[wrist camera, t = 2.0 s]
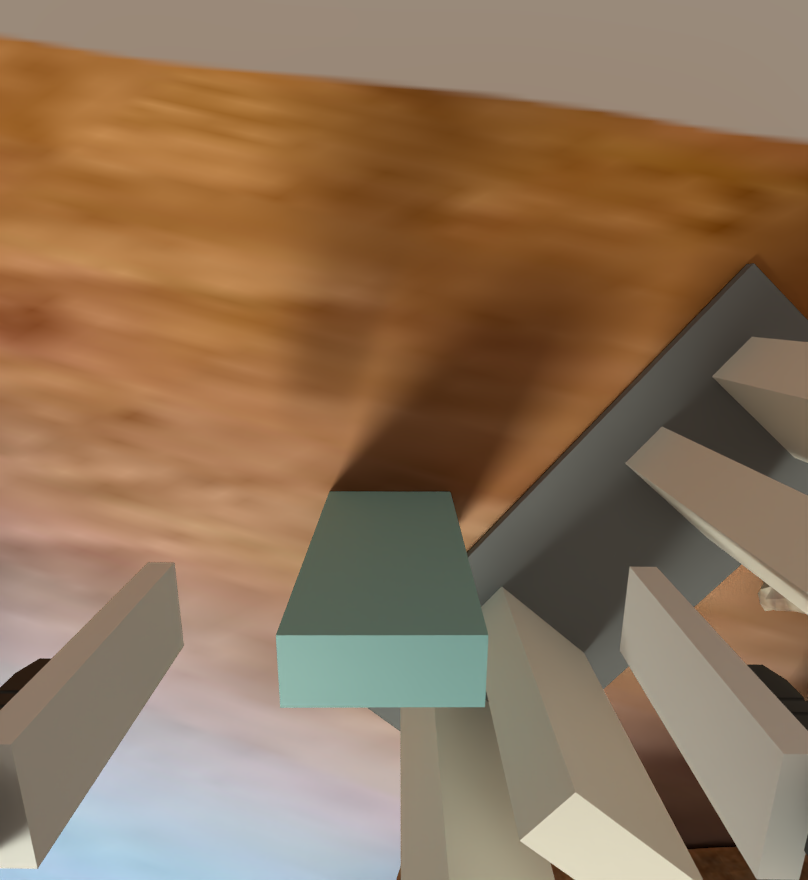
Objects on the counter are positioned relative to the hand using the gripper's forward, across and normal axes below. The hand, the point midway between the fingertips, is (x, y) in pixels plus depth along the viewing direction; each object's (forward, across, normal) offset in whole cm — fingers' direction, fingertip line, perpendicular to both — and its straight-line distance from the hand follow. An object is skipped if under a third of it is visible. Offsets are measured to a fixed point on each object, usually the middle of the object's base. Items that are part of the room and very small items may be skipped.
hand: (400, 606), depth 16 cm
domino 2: (+7, +5, -6) cm, 10 cm away
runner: (+7, +8, -2) cm, 11 cm away
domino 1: (+7, +2, -9) cm, 12 cm away
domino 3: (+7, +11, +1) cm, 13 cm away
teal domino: (+7, -1, 0) cm, 7 cm away
